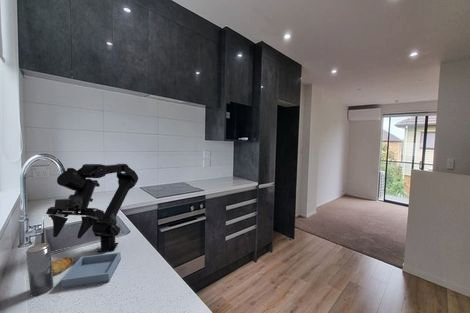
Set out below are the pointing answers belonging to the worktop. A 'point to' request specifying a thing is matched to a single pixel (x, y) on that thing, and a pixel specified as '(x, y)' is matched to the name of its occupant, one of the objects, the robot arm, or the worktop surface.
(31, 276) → the canister
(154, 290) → the worktop surface
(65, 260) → the pastry
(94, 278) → the bin
